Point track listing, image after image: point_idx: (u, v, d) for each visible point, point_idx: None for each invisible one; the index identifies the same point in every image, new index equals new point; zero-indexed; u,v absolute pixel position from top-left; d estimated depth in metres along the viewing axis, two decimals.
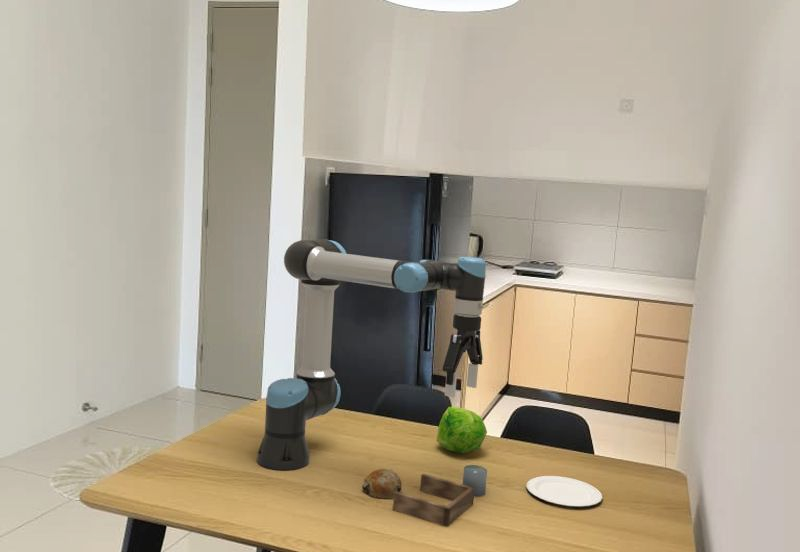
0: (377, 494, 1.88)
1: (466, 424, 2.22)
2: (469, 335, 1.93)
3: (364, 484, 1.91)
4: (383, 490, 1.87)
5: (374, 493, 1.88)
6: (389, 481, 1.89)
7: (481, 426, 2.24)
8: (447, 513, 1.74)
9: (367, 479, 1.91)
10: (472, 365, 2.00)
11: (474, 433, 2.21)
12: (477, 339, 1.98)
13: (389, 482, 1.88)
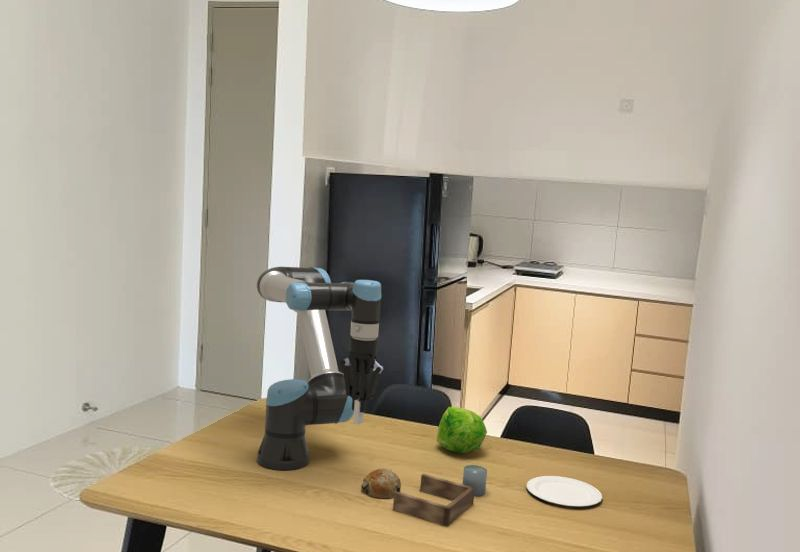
0: (376, 494, 1.88)
1: (466, 424, 2.22)
2: (360, 358, 1.92)
3: (363, 484, 1.91)
4: (382, 490, 1.87)
5: (373, 493, 1.88)
6: (388, 481, 1.89)
7: (481, 426, 2.24)
8: (447, 513, 1.74)
9: (366, 479, 1.91)
10: None
11: (474, 433, 2.21)
12: None
13: (388, 482, 1.88)
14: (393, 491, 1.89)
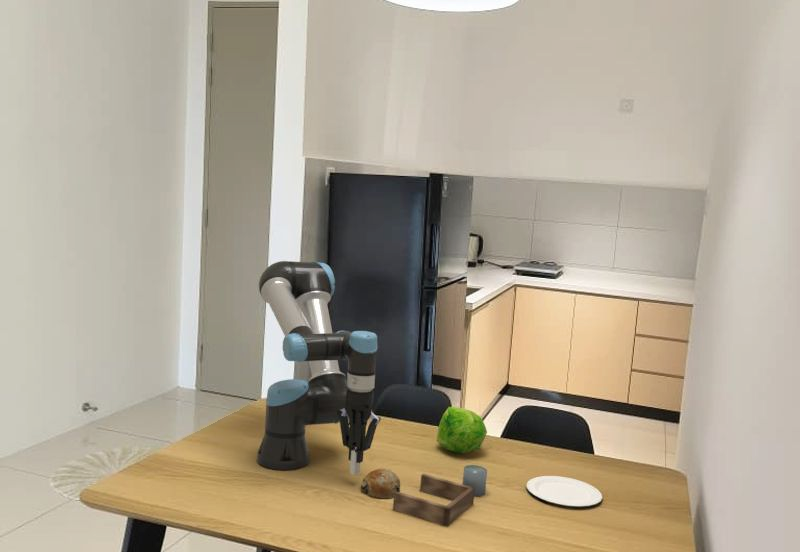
0: (375, 494, 1.88)
1: (466, 424, 2.22)
2: (356, 409, 1.94)
3: (363, 484, 1.91)
4: (382, 490, 1.87)
5: (373, 493, 1.88)
6: (387, 481, 1.89)
7: (481, 426, 2.24)
8: (447, 513, 1.74)
9: (366, 479, 1.91)
10: None
11: (474, 433, 2.21)
12: None
13: (388, 482, 1.88)
14: (392, 491, 1.89)
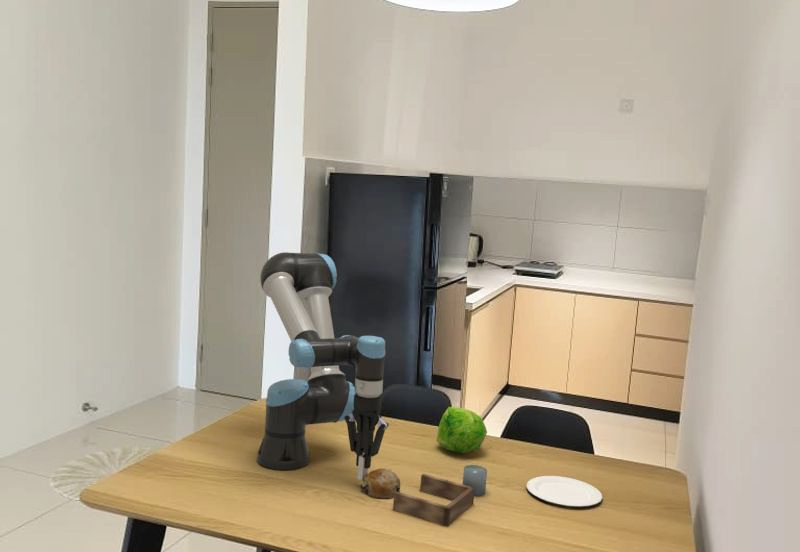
0: (376, 494, 1.88)
1: (466, 424, 2.22)
2: (364, 414, 1.92)
3: (363, 484, 1.91)
4: (382, 490, 1.87)
5: (373, 493, 1.88)
6: (387, 481, 1.89)
7: (481, 426, 2.24)
8: (447, 513, 1.74)
9: (366, 479, 1.91)
10: None
11: (474, 433, 2.21)
12: None
13: (388, 482, 1.88)
14: (393, 491, 1.89)
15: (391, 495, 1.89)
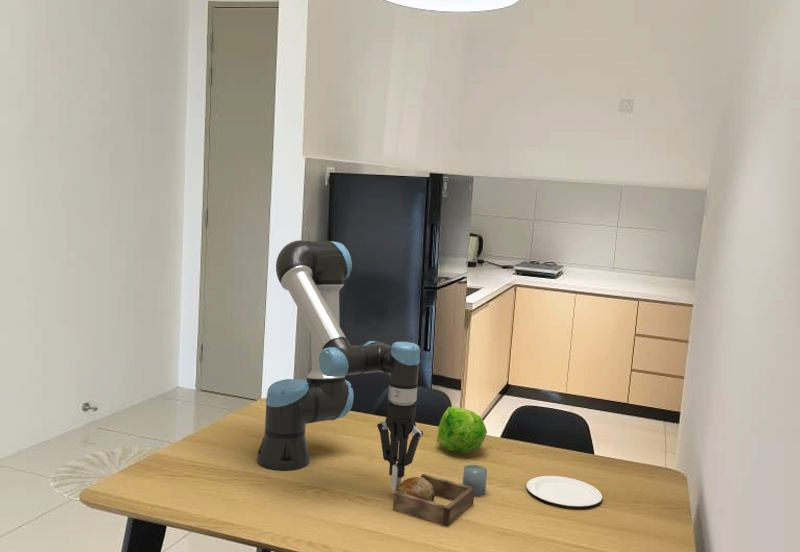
0: None
1: (466, 424, 2.22)
2: (398, 422, 1.88)
3: None
4: None
5: None
6: (424, 489, 1.84)
7: (481, 426, 2.24)
8: (447, 513, 1.74)
9: (401, 488, 1.86)
10: None
11: (474, 433, 2.21)
12: (412, 438, 1.86)
13: (425, 491, 1.84)
14: (429, 500, 1.85)
15: None
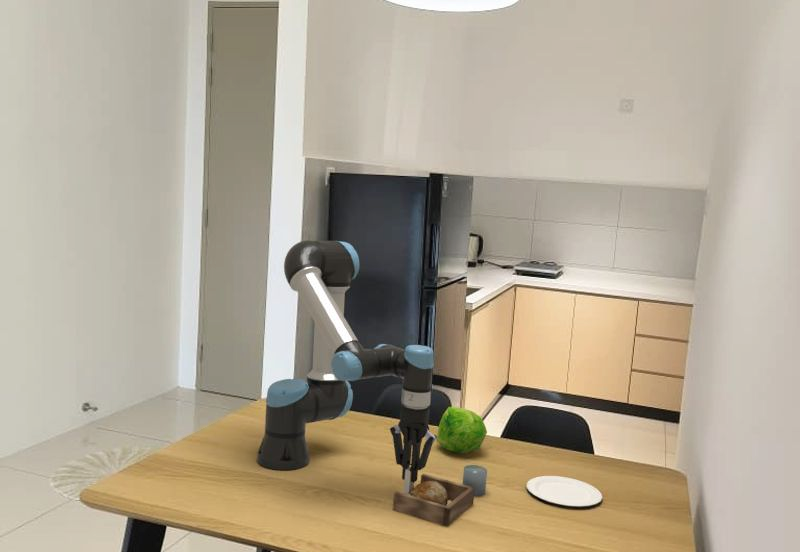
0: None
1: (466, 424, 2.22)
2: (411, 426, 1.86)
3: None
4: None
5: None
6: (438, 494, 1.83)
7: (481, 426, 2.24)
8: (447, 513, 1.74)
9: (414, 493, 1.84)
10: None
11: (474, 433, 2.21)
12: None
13: (438, 495, 1.82)
14: (443, 504, 1.83)
15: None
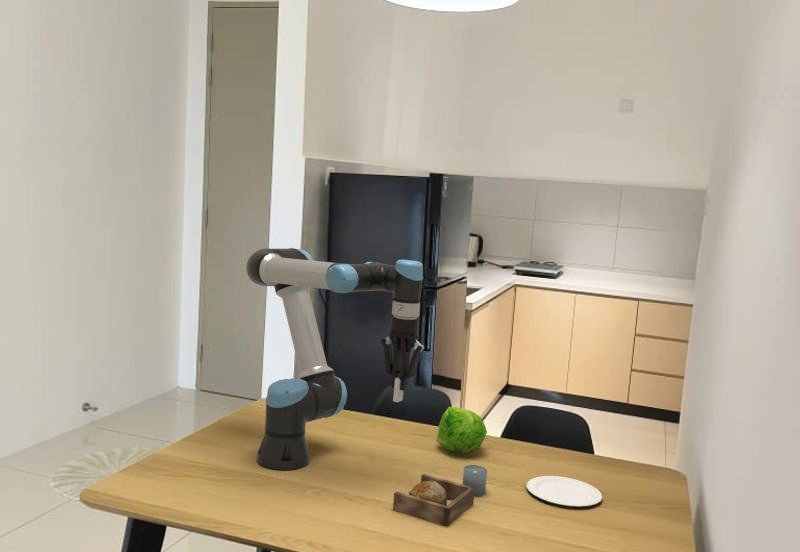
0: None
1: (466, 424, 2.22)
2: (401, 337, 1.95)
3: None
4: None
5: None
6: (437, 494, 1.83)
7: (481, 426, 2.24)
8: (447, 513, 1.74)
9: (413, 493, 1.84)
10: None
11: (474, 433, 2.21)
12: (414, 351, 1.94)
13: (438, 495, 1.82)
14: (442, 504, 1.83)
15: None
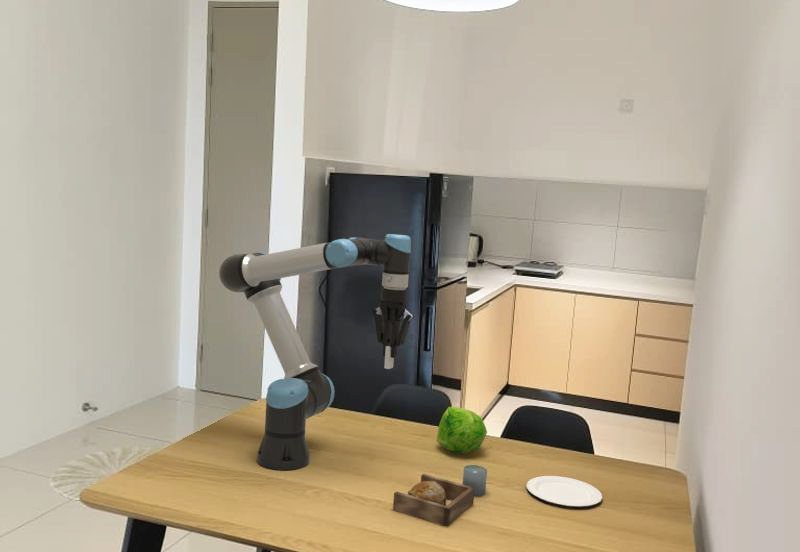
0: None
1: (466, 424, 2.22)
2: (391, 307, 2.06)
3: None
4: None
5: None
6: (436, 494, 1.83)
7: (481, 426, 2.24)
8: (447, 513, 1.74)
9: (412, 493, 1.84)
10: None
11: (474, 433, 2.21)
12: None
13: (437, 495, 1.82)
14: (441, 504, 1.83)
15: None
